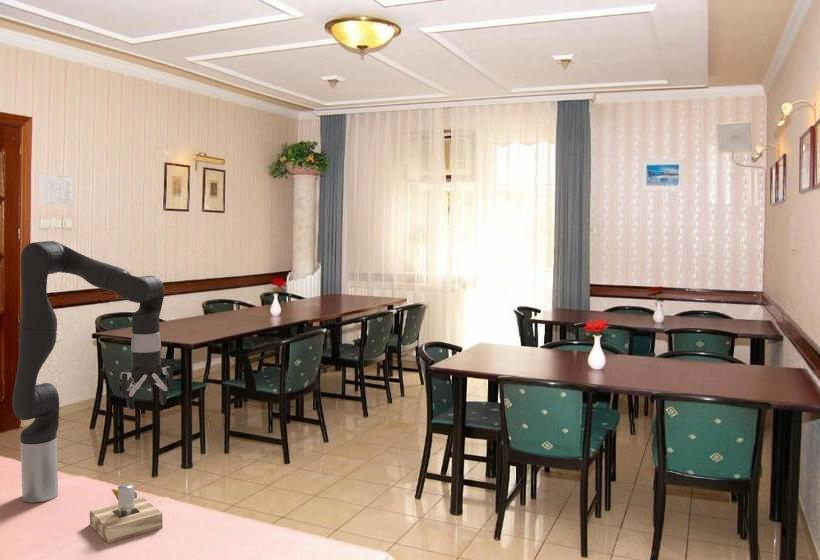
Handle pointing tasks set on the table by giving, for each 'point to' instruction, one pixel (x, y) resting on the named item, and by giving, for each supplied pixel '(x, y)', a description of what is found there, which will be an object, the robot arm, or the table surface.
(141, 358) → the robot arm
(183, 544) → the table surface
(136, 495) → the drill bit
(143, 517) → the socket block
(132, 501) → the pin
